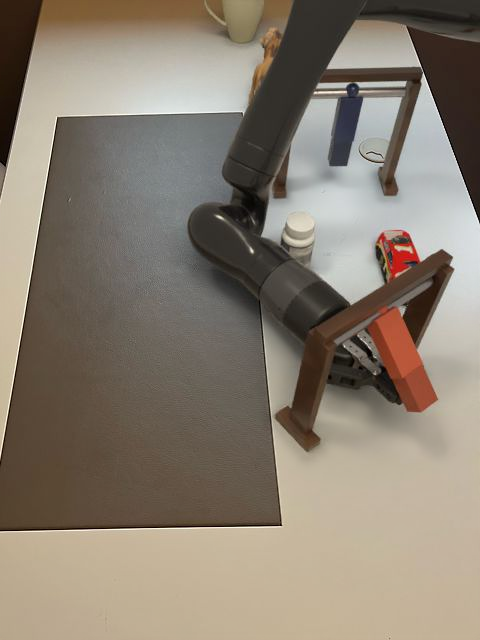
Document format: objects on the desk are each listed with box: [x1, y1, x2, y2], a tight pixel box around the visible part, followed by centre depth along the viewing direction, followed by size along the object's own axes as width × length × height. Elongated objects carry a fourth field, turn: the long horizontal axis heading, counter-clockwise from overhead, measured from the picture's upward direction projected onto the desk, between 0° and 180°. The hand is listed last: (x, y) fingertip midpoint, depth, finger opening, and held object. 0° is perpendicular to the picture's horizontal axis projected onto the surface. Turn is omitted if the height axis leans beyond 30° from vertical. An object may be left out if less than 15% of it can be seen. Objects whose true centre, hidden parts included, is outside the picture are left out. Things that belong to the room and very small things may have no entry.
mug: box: [203, 0, 266, 44], centre depth 125 cm, size 11×10×12 cm
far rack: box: [271, 66, 424, 199], centre depth 95 cm, size 6×20×19 cm, turn 91°
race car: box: [375, 229, 421, 305], centre depth 90 cm, size 13×5×4 cm, turn 1°
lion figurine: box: [247, 27, 283, 106], centre depth 115 cm, size 15×5×9 cm, turn 167°
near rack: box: [274, 248, 455, 453], centre depth 72 cm, size 6×20×19 cm, turn 126°
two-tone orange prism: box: [333, 277, 439, 413], centre depth 67 cm, size 2×15×13 cm
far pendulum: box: [311, 82, 406, 168], centre depth 94 cm, size 2×15×13 cm, turn 91°
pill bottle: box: [279, 211, 316, 268], centre depth 89 cm, size 5×5×8 cm
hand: (406, 398), depth 70 cm, fingers closed
